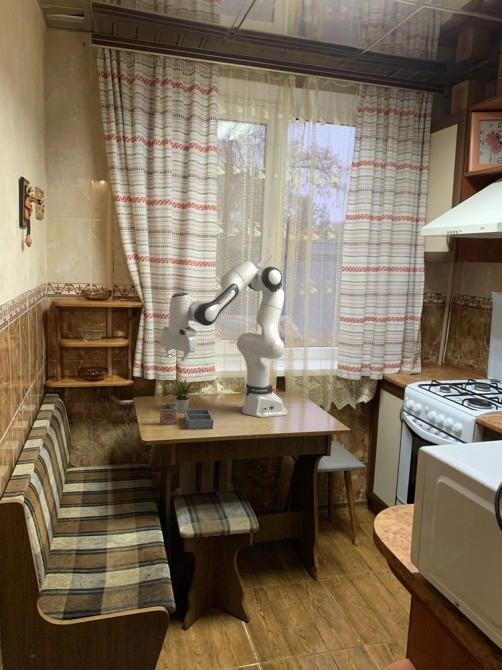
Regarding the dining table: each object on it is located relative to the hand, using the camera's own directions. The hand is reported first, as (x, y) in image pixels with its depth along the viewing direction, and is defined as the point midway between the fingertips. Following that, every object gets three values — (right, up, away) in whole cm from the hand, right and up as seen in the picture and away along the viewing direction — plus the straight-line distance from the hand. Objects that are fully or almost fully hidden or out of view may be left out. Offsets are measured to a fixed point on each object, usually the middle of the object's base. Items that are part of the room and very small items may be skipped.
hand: (176, 359), depth 237 cm
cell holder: (+9, -29, +3) cm, 31 cm away
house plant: (+1, -27, +19) cm, 33 cm away
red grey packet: (-4, -30, 0) cm, 30 cm away
